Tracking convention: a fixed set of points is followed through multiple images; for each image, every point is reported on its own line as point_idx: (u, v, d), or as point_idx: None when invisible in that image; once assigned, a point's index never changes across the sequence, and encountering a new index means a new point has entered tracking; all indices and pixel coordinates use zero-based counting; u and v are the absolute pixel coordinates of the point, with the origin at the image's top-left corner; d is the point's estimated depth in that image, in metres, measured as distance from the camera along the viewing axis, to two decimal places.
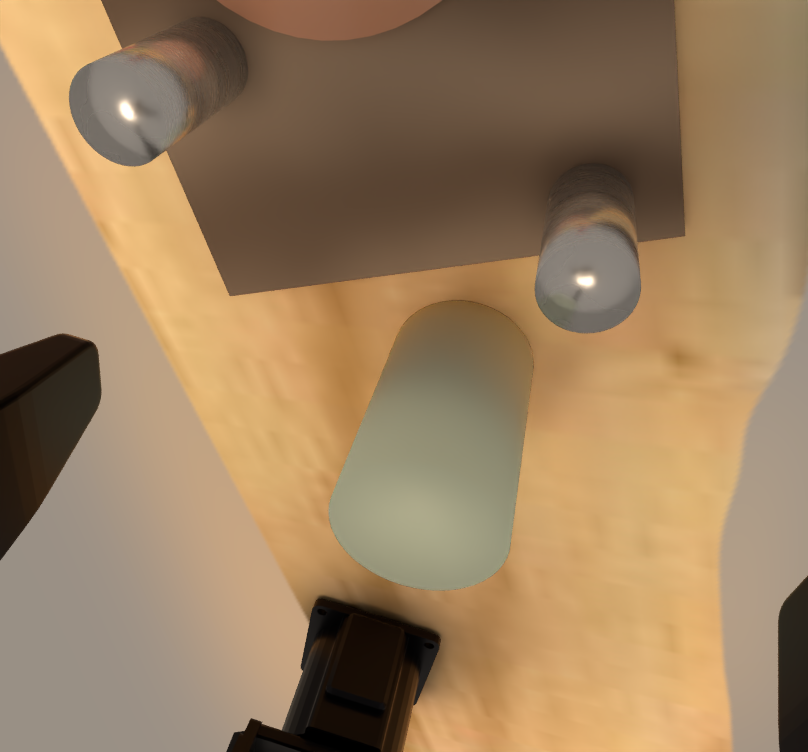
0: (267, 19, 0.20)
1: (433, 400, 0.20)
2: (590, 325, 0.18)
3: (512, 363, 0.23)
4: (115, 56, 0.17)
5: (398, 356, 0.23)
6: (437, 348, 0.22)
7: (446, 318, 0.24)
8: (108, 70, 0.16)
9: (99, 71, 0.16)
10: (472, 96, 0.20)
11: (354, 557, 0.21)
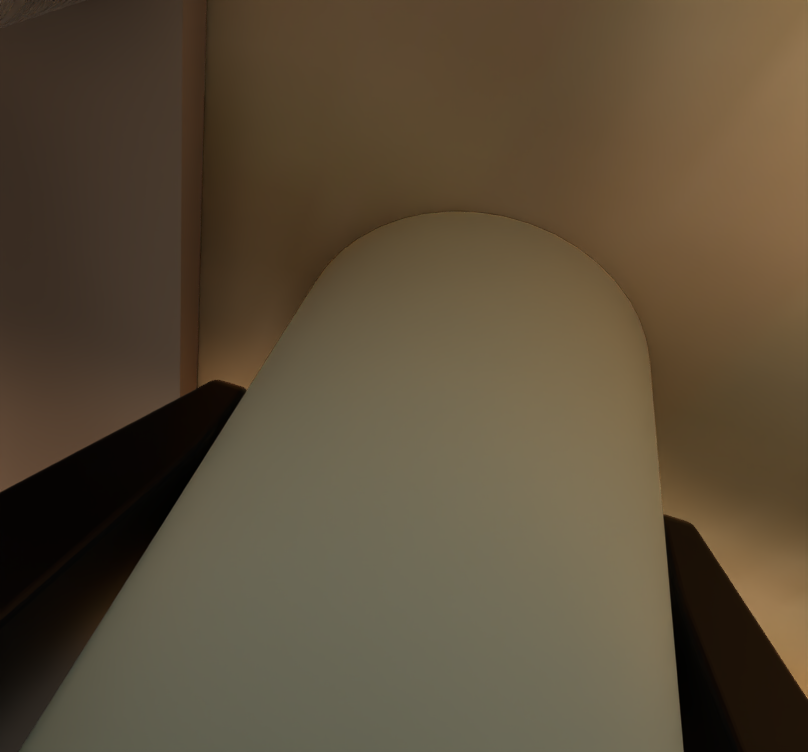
0: None
1: None
2: None
3: (378, 302, 0.07)
4: None
5: None
6: None
7: None
8: None
9: None
10: None
11: None
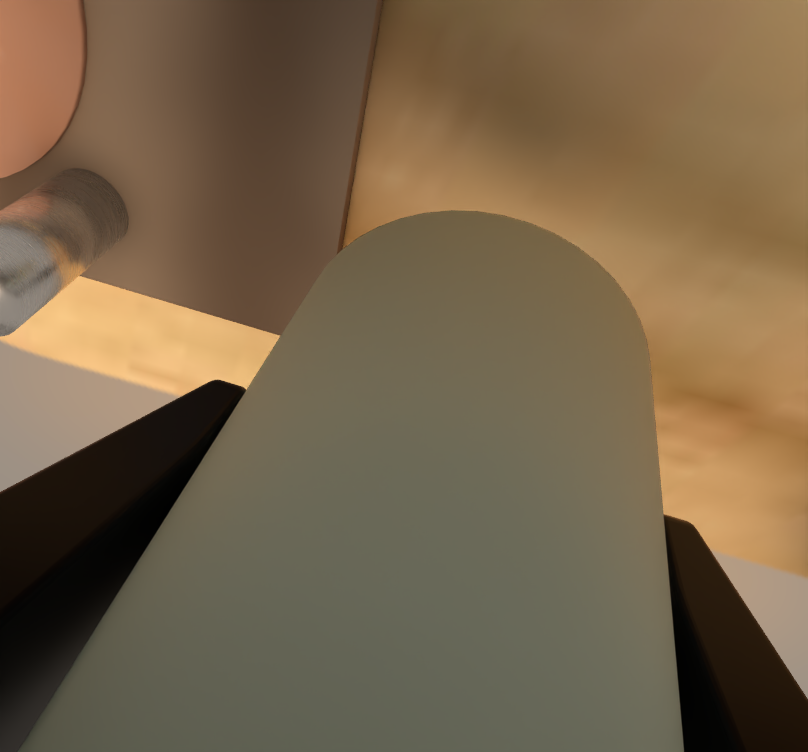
0: (52, 127, 0.20)
1: None
2: None
3: (378, 301, 0.07)
4: None
5: None
6: None
7: None
8: None
9: None
10: None
11: None
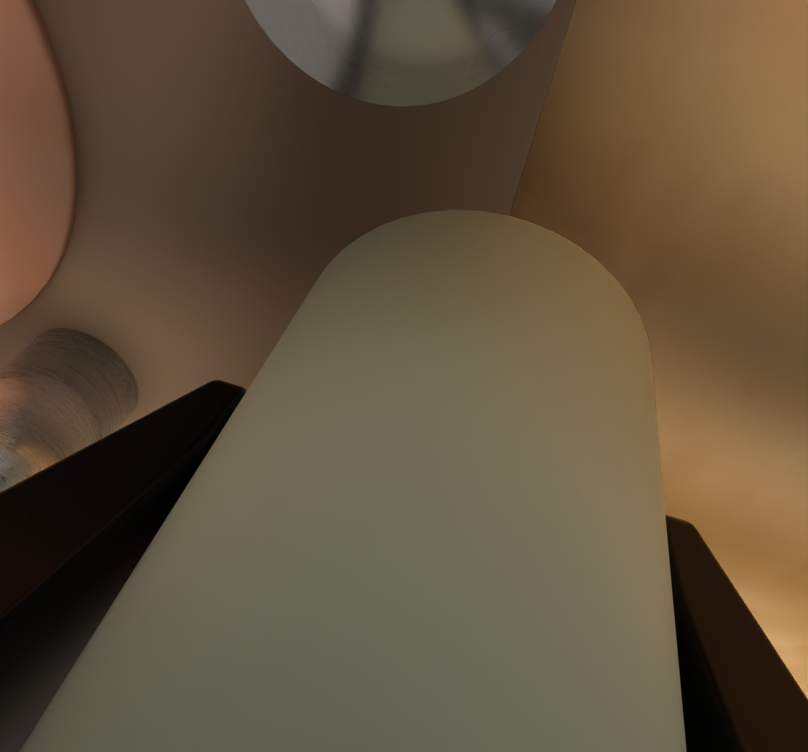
0: (29, 281, 0.14)
1: None
2: None
3: (379, 300, 0.07)
4: None
5: None
6: None
7: None
8: None
9: None
10: (199, 41, 0.11)
11: None
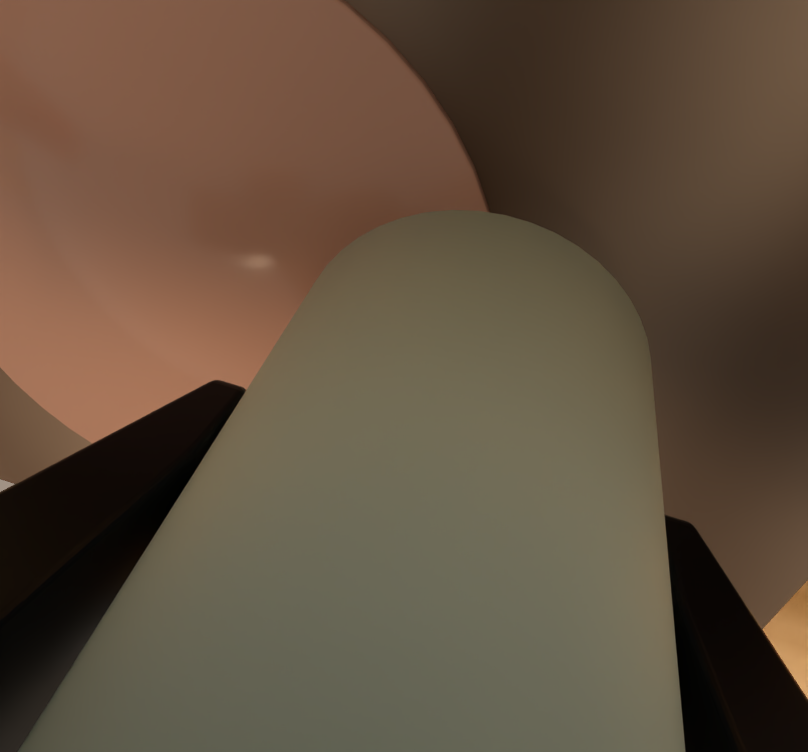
0: None
1: None
2: None
3: (379, 301, 0.07)
4: None
5: None
6: None
7: None
8: None
9: None
10: (662, 283, 0.11)
11: None
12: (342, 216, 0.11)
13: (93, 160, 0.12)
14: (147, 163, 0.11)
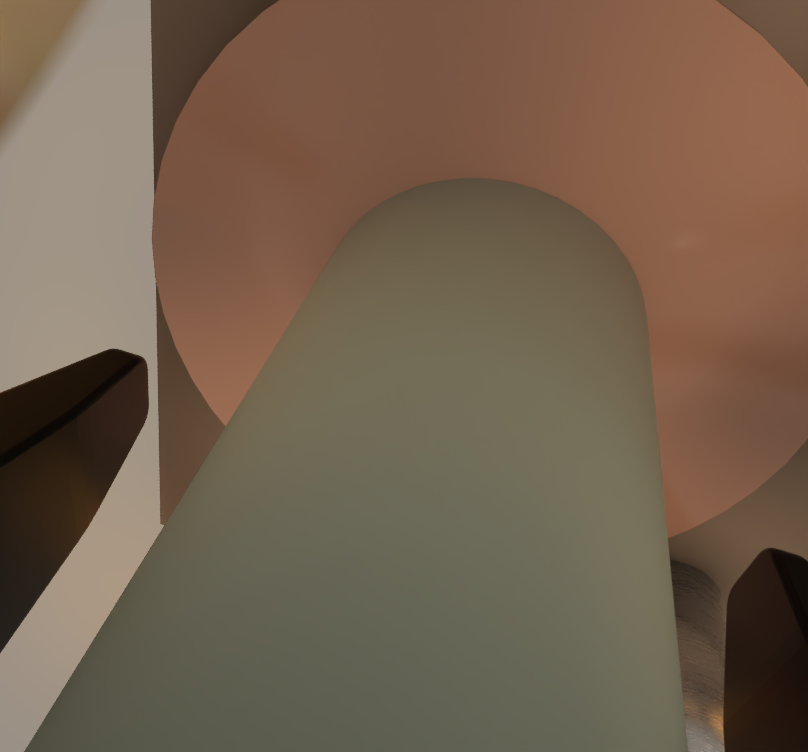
0: (672, 526, 0.13)
1: None
2: None
3: (401, 254, 0.08)
4: None
5: None
6: None
7: None
8: None
9: None
10: None
11: None
12: (687, 267, 0.10)
13: None
14: None
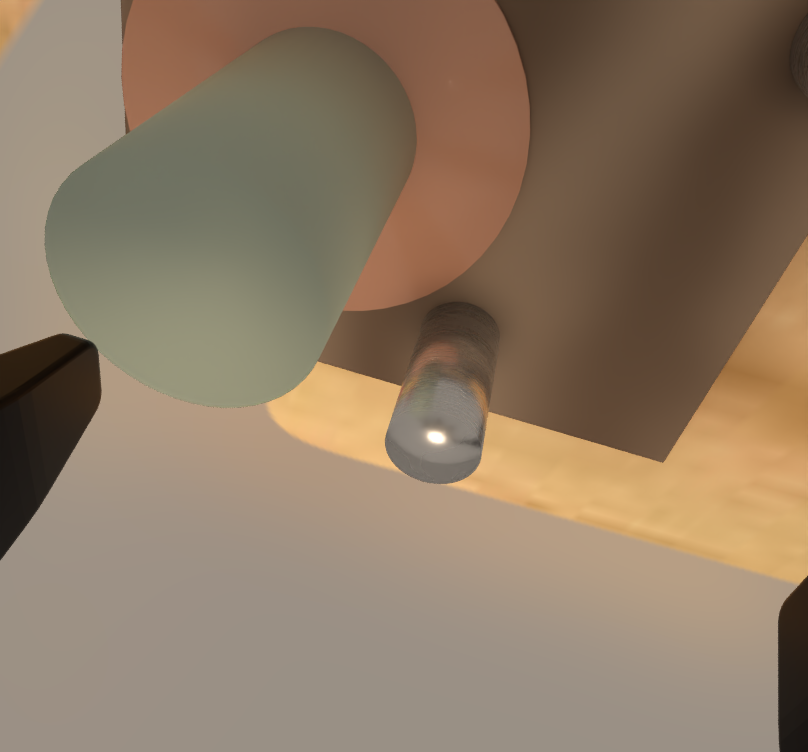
0: (455, 269, 0.20)
1: None
2: None
3: (252, 53, 0.16)
4: (393, 414, 0.18)
5: None
6: None
7: None
8: (397, 429, 0.18)
9: (394, 435, 0.18)
10: (635, 122, 0.17)
11: (238, 404, 0.14)
12: (430, 80, 0.17)
13: None
14: None
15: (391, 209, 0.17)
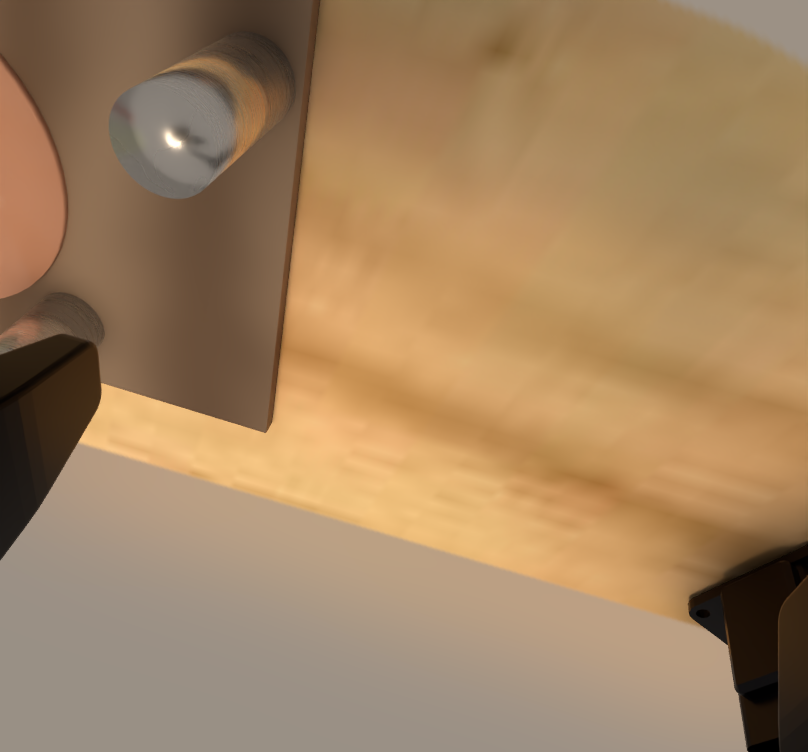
0: (41, 264, 0.24)
1: None
2: (207, 159, 0.15)
3: None
4: None
5: None
6: None
7: None
8: None
9: None
10: None
11: None
12: None
13: None
14: None
15: None
